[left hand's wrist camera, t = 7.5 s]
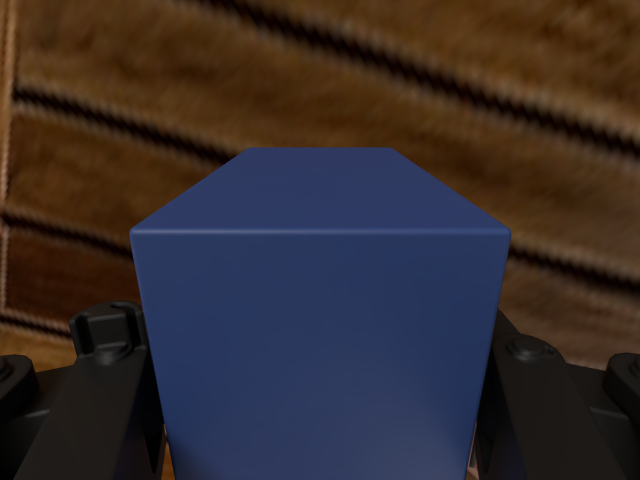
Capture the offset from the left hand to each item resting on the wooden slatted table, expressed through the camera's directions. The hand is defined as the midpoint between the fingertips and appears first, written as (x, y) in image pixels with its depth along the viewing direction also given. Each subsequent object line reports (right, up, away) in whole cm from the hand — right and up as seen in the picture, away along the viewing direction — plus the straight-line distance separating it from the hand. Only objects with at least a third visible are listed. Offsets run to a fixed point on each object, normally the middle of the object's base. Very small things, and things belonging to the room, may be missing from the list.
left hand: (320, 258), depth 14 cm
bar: (0, -9, +4) cm, 10 cm away
